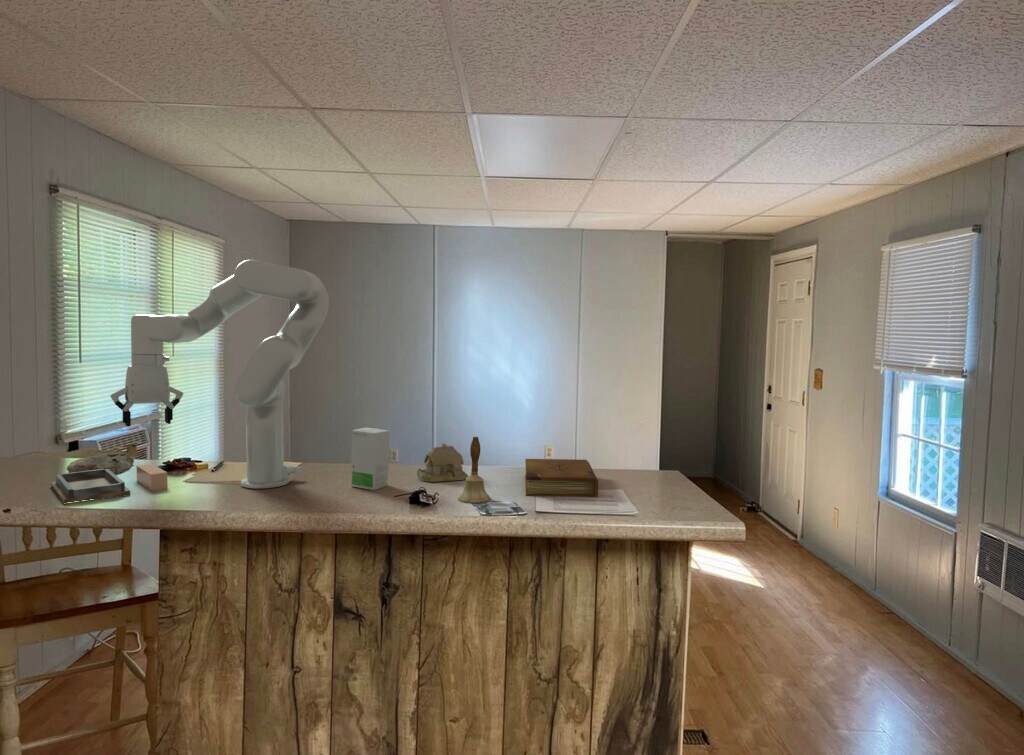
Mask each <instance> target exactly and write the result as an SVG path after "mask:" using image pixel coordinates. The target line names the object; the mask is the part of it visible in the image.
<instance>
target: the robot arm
mask: <svg viewBox="0 0 1024 755" xmlns="http://www.w3.org/2000/svg"><path fill="white" fill-rule="evenodd" d="M263 296H264V297H269V298H274V299H275V298H276V299H280V300H286V301H290V302H295V307H294V309H293V310H292V311H291V313H290V314H289V315H288V317H287V318H286V320H285V322H284V324H283V325H282V326H281V328H280V329H279V330H278V332H277V334H276V335H272V336H271V335H270V336H269V337H267V338H265V339H264V340H263V341H261V342H260V343H259V344H258V345H257V347H256V349H255V350H254V351H253V353H252V355H251V357H249V360H248V361H247V363H246V364H245V366H244V367H243V369H242V370H241V372H240V373H239V375H238V377H237V379H236V381H235V383H234V395H235V397H236V399H237V401H238V402H239V403H241V404H242V405H244V406H245V407H246V411H245V412H246V414H245V443H246V444H245V445H246V451H245V452H246V477H244V478H243V479H241V480H240V486H241V487H243V488H247V489H260V490H262V489H273V488H278V487H282V486H286V485H288V484H289V483H290V481H291V480H290V476H291V474H294V475H296V474H300V473H301V472H302V468H301V466H300V465H298V466H287V465H285V463H284V462H285V461H284V405H285V396H286V395H285V392H286V390H285V389H286V388H285V382H284V380H283V379H284V377H285V375H286V374H287V372H288V371H289V370H292V369H295V367H297V366H298V365H299V363H300V362H301V361H302V358H303V357H304V355H305V353H306V351H307V350H308V348H309V347H310V345H311V343H312V342H313V340H314V338H315V337H316V335H317V333H318V331H319V330H320V329H321V327H322V325H323V323H324V322H325V319H326V318H327V315H328V311H329V307H330V306H329V305H330V304H329V303H330V301H329V300H330V299H329V294H328V291H327V289H326V287H325V285H324V283H323V281H322V280H321V279H320V278H319V277H318V276H317V275H315V274H314V273H312V272H310V271H307V270H304V269H300V268H295V267H291V266H285V265H281V264H275V263H271V262H264V261H261V260H257V259H246V260H243V261H242V262H240V263H239V264H238V265H237V266H236V267H235V269H234V272H233V275H232V274H231V276H229V277H228V278H226V279H224V280H222V281H221V282H219V283H217V284H215V285H214V286H213V287H212V288H211V289H210V291H209V295H208V297H207V298H206V300H204V301H203V302H202V303H201V304H199V305H198V306H197V307H195V308H193V309H191V310H189V311H188V312H186V313H185V314H165V315H157V314H147V313H146V314H145V313H143V314H133V315H132V316H131V319H130V345H131V346H130V348H131V349H130V351H131V352H130V353H131V356H130V357H131V360H130V362H131V365H127V368H126V373H125V382H124V383H125V385H124V387H123V388H122V389H118V390H117V391H116V392H113V393H111V394H110V395H109V396H110V399H111V400H112V402H113V403H114V405H116V407H117V408H119V409H120V410H121V411H122V423H123V424H124V425H125V426H126V427H131V426H132V422H131V421H132V420H131V419H132V418H131V415H132V414H131V411H130V409H131V407H132V406H134V405H138V404H140V405H142V404H143V405H145V404H161V403H162V404H164V405H165V406H166V407H165V408H164V423H166V424H167V425H170V424H171V423H172V422H171V421H173V414H174V410H173V409H174V408H175V407H176V406H177V405H178V404H179V403H180V401H181V399H182V397H183V396H184V392H183V391H182V390H178V389H176V388H174V387H171V386H170V379H169V372H168V369H167V368H168V367H167V366H166V365H165V363H167V362H170V356H166V355H165V353H164V343H168V344H180V343H190V342H193V341H196V340H197V339H199V338H201V337H202V336H206V335H207V334H208V333H209V332H211V331H213V330H215V329H216V328H218V327H219V326H220V325H222V324H223V323H224V322H226V321H227V320H228V319H229V318H231V316H233V315H234V314H235V313H237V312H239V311H240V310H242V309H243V308H245V307H247V306H249V305H250V304H252V303H253V302H255V301H257V300H259V299H260V298H262V297H263ZM171 393H172V394H174V395H175V397H174V398H173V399H172V400H171V401H170V397H171ZM123 395H124V399H125V402H124V403H123V402H121V401H120V399H119V398H120V397H122V396H123Z"/></svg>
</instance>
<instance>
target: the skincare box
mask: <svg viewBox="0 0 1024 755" xmlns="http://www.w3.org/2000/svg"><path fill="white" fill-rule="evenodd" d="M351 431H352V432H351V459H350V460H351V462H350V463H351V466H350V467H351V468H350V487H354V488H360V489H365V490H371V491H376V490H378V489H382V488H385V487H388V485H389V462H390V461H389V456H390V455H389V454H390V430H387V429H380V428H373V427H367V426H366V427H361V428H357V429H352V430H351Z"/></svg>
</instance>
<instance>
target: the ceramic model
mask: <svg viewBox="0 0 1024 755" xmlns="http://www.w3.org/2000/svg"><path fill="white" fill-rule="evenodd" d="M464 462H465V461H464V458H463V456H462V454H461V453H459V452H458V451H457V449H456V448H455V447H454V446H453V445H448V444H446V443H442V444H441V446H436V447H433V448H432V449H431V450H430V451H428V452H427V453H426V455H425V457H424V459H423V463H424V464H425V469H421V468H418V469H417V470H416V476H417V479H418V480H420V481H422V482H428V483H429V482H431V483H433V482H434V483H435V482H437V483H438V482H445V481H447V482H448V481H449V482H450V481H461V480H463V481H464V480H466V478H467V477H469V475H468V474H467V473H466V472H465V471H464V470H463V465H464Z"/></svg>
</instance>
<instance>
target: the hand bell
mask: <svg viewBox="0 0 1024 755" xmlns="http://www.w3.org/2000/svg"><path fill="white" fill-rule="evenodd" d="M469 451H470V454H469V455H470V458H471V469H470V470H471V472H470V475H468V477H467V478H466V479H465V481H464V482H465V483H464V487H463V490H462V492H461V494H459V495H458V497H457V500H459V501H460V502H463V503H470V504H478V503H479V504H480V503H487V502H489V501H491V496H490V495H489V494H488V493H487V491H486V488H485V483H484V478H483V477H481V476H480V475H479V459H480V456H481V443H480V439H479V437H478V436H473V437H472V441H471V443H470V449H469Z"/></svg>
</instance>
